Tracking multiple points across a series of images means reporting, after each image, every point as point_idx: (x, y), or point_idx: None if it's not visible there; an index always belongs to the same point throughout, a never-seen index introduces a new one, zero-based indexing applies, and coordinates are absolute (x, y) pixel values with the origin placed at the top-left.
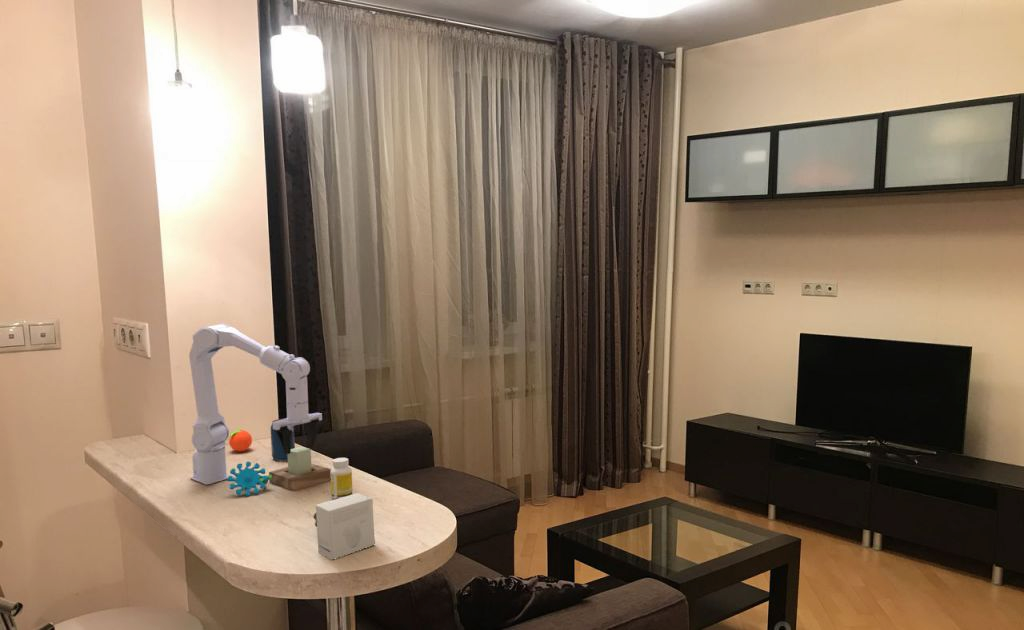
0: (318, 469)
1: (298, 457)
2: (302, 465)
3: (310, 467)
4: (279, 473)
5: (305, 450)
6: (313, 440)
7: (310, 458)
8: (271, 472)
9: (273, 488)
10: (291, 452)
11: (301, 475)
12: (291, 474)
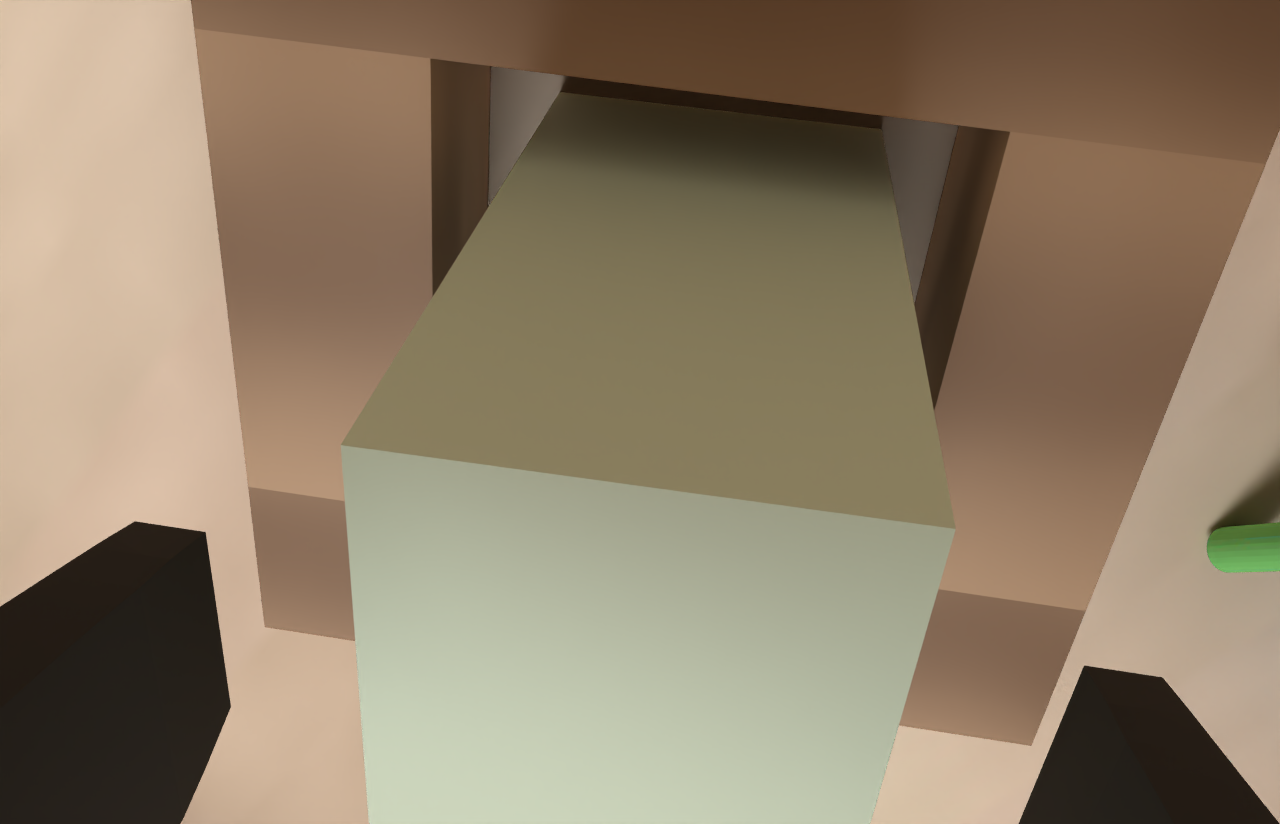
0: (393, 45)
1: (877, 414)
2: (749, 267)
3: (525, 195)
4: (1032, 551)
5: (568, 476)
6: (4, 678)
7: (456, 293)
8: (1041, 697)
9: (1243, 359)
10: (885, 735)
11: (959, 30)
12: (989, 304)
